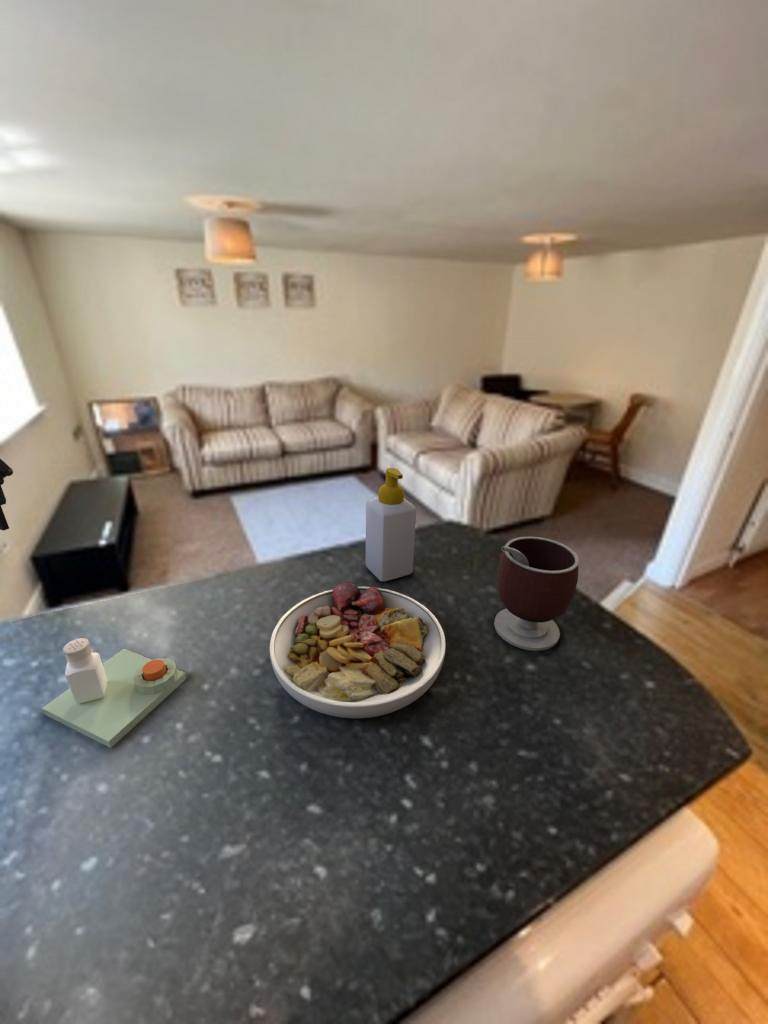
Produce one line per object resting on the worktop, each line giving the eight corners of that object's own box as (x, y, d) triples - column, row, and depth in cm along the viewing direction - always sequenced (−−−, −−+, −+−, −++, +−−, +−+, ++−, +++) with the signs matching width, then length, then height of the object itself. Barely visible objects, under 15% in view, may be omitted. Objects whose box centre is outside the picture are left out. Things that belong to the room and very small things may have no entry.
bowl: (473, 706, 70) (478, 668, 67) (278, 751, 63) (274, 711, 59) (410, 596, 96) (412, 565, 93) (267, 619, 89) (263, 586, 85)
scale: (44, 714, 67) (38, 700, 66) (125, 654, 79) (121, 641, 78) (111, 748, 62) (105, 733, 61) (187, 678, 74) (184, 664, 73)
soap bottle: (381, 584, 100) (383, 480, 90) (363, 565, 107) (363, 466, 97) (414, 574, 104) (421, 473, 94) (395, 557, 111) (399, 461, 101)
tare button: (139, 677, 71) (137, 670, 70) (156, 664, 74) (154, 656, 73) (154, 683, 70) (152, 676, 69) (170, 670, 72) (169, 662, 72)
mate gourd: (532, 601, 96) (548, 517, 87) (579, 643, 84) (604, 551, 76) (469, 617, 91) (480, 529, 82) (511, 664, 79) (529, 567, 70)
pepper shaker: (79, 687, 70) (62, 640, 66) (108, 680, 72) (93, 633, 68) (75, 706, 67) (56, 658, 63) (105, 698, 69) (89, 650, 64)
